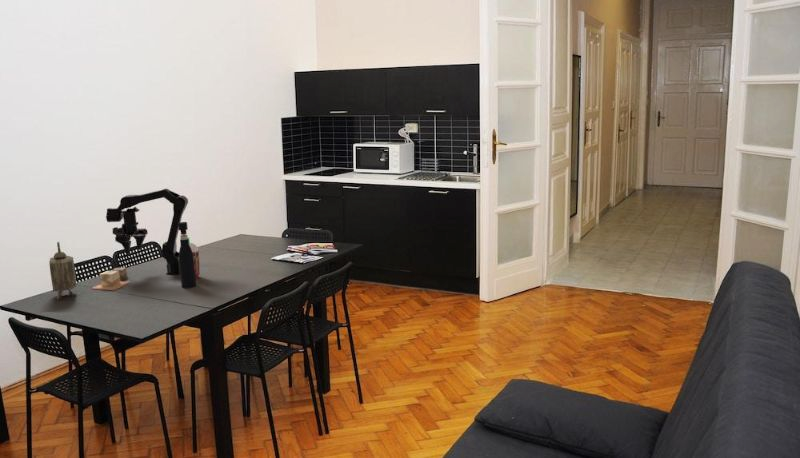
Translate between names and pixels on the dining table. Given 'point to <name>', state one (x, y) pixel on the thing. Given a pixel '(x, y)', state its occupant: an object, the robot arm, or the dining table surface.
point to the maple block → (110, 278)
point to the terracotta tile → (111, 287)
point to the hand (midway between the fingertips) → (133, 252)
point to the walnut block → (121, 272)
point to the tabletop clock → (62, 272)
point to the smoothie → (195, 258)
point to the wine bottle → (186, 259)
